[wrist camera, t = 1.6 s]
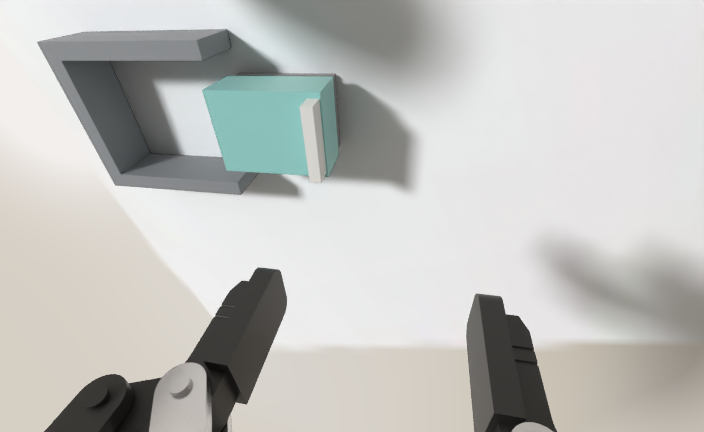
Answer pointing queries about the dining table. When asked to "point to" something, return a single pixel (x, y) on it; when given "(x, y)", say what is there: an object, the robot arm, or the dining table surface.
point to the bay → (116, 115)
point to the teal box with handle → (276, 123)
